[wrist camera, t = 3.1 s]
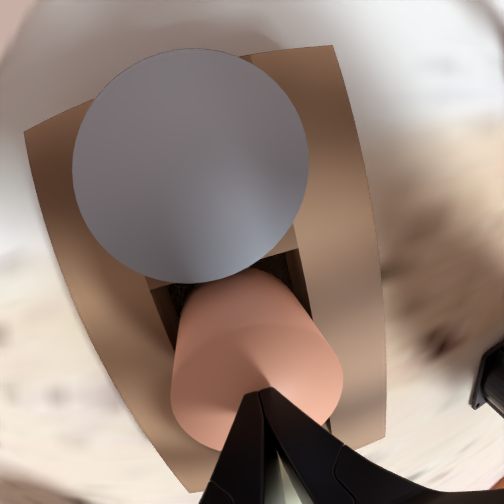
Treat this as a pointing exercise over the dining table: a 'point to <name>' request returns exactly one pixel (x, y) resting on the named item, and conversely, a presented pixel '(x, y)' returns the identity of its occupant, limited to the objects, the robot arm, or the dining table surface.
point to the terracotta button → (248, 354)
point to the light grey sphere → (190, 166)
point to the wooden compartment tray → (292, 243)
